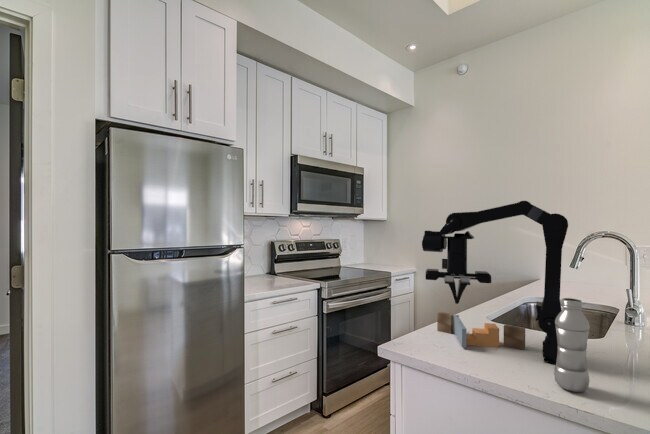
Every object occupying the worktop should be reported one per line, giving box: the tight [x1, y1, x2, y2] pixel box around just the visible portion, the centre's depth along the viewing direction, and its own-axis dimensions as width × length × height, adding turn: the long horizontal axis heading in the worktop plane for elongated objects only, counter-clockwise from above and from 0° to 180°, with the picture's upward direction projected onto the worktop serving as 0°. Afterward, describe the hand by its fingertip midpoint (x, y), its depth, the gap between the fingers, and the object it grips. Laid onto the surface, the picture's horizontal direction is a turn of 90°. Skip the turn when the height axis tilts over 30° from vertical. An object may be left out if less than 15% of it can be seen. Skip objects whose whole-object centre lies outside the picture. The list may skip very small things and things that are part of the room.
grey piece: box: [452, 314, 467, 348], centre depth 108 cm, size 15×2×6 cm, turn 168°
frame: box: [436, 311, 526, 351], centre depth 110 cm, size 26×2×6 cm, turn 49°
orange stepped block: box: [466, 322, 500, 348], centre depth 106 cm, size 10×5×6 cm, turn 78°
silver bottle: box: [553, 297, 591, 393], centre depth 78 cm, size 6×7×20 cm
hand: (456, 303), depth 107 cm, fingers closed
